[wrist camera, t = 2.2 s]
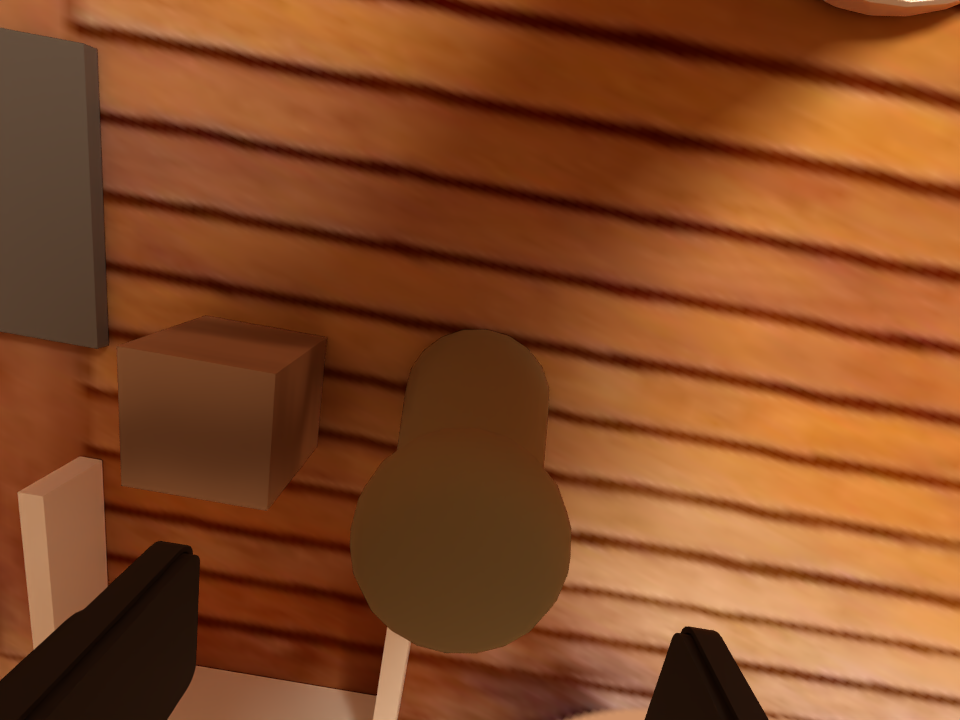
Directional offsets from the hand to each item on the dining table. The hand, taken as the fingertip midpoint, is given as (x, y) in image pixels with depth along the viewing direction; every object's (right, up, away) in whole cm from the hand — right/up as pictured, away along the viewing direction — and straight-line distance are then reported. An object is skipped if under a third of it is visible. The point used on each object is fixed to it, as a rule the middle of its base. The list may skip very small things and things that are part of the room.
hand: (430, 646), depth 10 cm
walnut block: (-8, +5, +11) cm, 15 cm away
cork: (+1, +4, +11) cm, 12 cm away
